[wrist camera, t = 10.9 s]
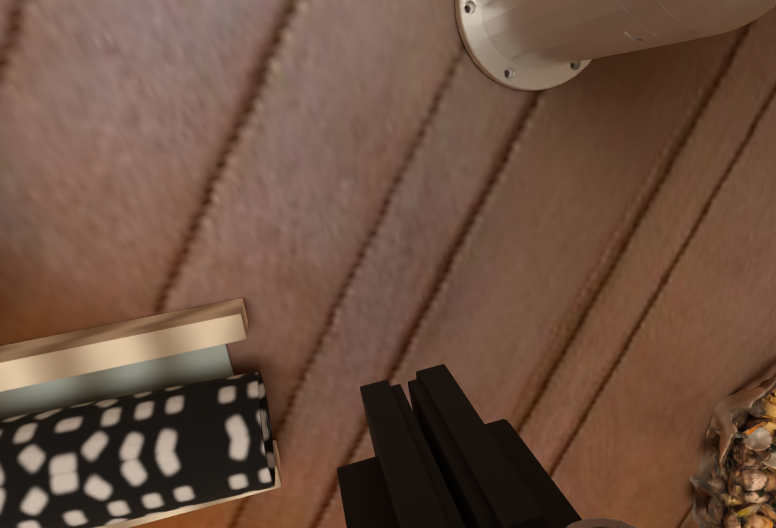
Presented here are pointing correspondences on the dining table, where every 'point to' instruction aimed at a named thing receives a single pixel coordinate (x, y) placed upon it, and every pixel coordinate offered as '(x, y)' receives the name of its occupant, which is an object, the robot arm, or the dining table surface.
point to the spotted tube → (136, 455)
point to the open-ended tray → (124, 366)
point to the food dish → (739, 463)
